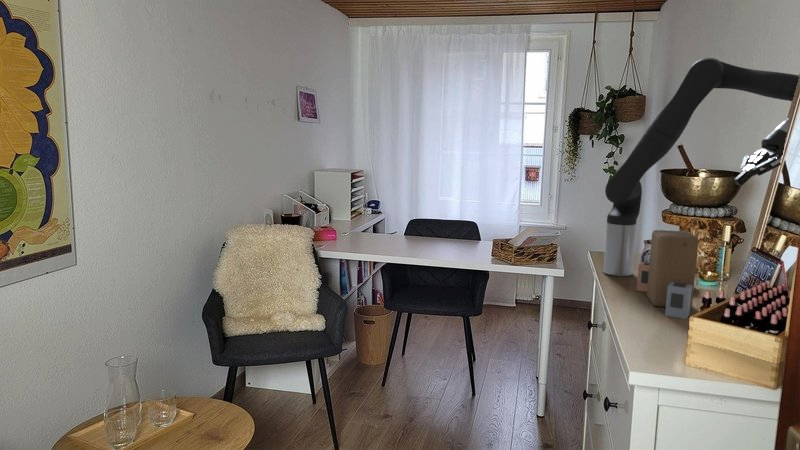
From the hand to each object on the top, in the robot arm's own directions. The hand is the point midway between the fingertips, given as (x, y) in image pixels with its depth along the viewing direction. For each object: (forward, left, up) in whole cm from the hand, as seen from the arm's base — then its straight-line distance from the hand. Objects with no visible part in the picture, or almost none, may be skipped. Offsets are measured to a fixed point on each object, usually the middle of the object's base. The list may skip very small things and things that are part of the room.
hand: (737, 183), depth 157 cm
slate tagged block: (+20, -9, -34) cm, 40 cm away
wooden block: (+10, -13, -34) cm, 38 cm away
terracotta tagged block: (-1, -21, -34) cm, 40 cm away
